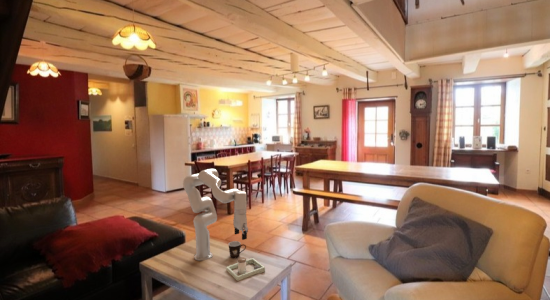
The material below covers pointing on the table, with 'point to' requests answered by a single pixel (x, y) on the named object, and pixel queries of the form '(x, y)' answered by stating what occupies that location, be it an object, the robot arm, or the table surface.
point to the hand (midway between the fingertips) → (240, 236)
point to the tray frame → (249, 261)
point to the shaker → (242, 265)
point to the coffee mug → (235, 249)
